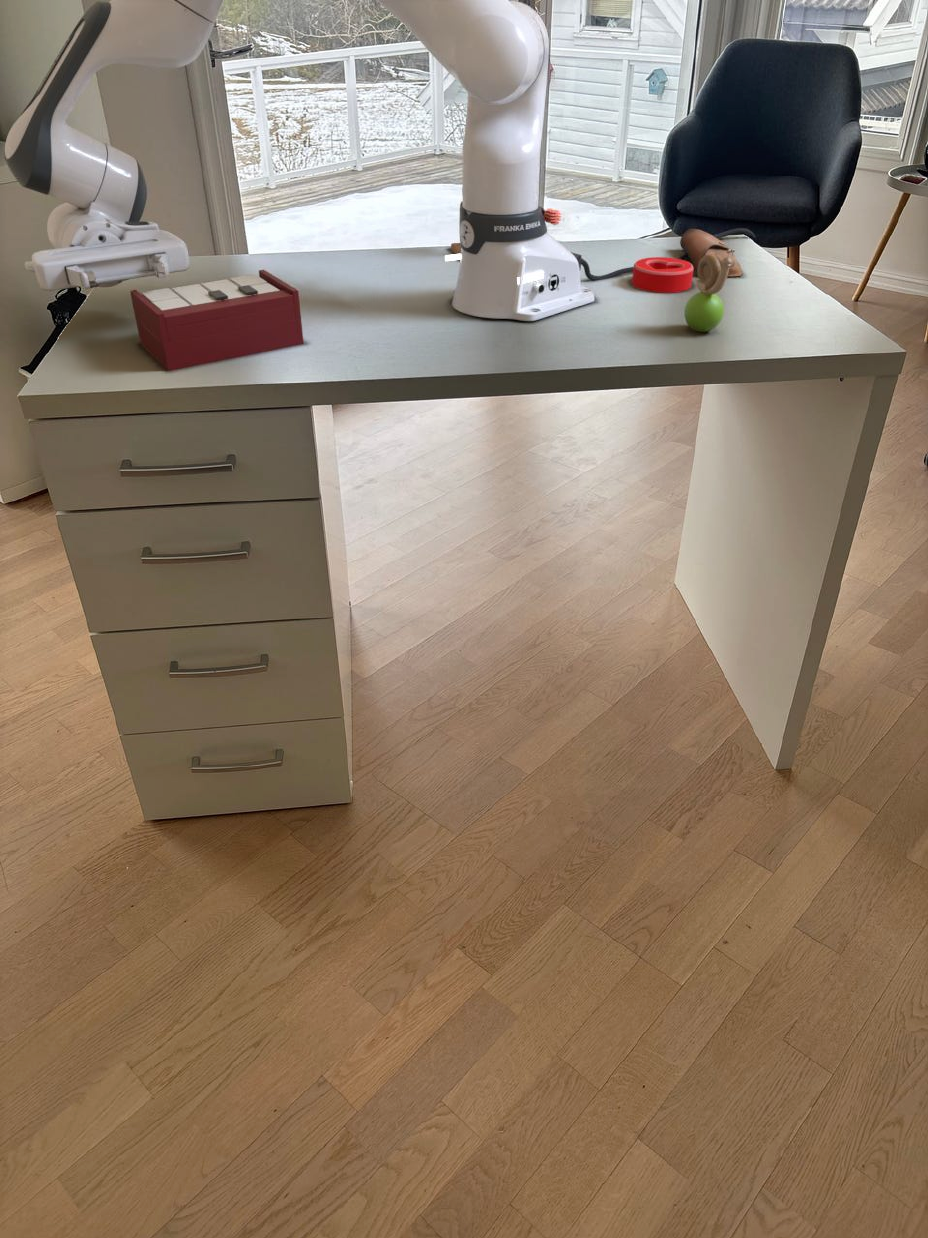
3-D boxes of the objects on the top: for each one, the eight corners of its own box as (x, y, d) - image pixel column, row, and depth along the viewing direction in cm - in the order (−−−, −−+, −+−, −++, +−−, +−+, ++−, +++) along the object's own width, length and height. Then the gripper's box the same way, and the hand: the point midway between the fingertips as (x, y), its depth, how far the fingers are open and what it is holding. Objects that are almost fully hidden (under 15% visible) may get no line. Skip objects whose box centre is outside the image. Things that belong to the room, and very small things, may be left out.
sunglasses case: (747, 274, 156) (732, 237, 152) (707, 295, 158) (692, 260, 154) (725, 246, 170) (711, 213, 167) (689, 266, 172) (674, 234, 169)
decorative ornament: (631, 291, 150) (633, 270, 148) (632, 274, 157) (634, 255, 156) (692, 294, 148) (694, 273, 146) (690, 277, 156) (693, 257, 154)
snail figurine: (702, 341, 130) (716, 251, 123) (674, 327, 135) (685, 241, 128) (733, 335, 132) (748, 247, 125) (703, 322, 137) (716, 236, 130)
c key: (256, 283, 134) (254, 273, 133) (268, 291, 131) (267, 281, 130) (231, 287, 132) (229, 277, 131) (242, 295, 129) (241, 285, 128)
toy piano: (270, 320, 138) (263, 269, 133) (303, 344, 129) (298, 290, 125) (141, 344, 129) (129, 290, 125) (168, 371, 121) (157, 314, 117)
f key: (170, 297, 128) (168, 287, 127) (180, 306, 125) (179, 295, 124) (142, 302, 127) (140, 292, 126) (153, 311, 124) (151, 300, 123)
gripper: (15, 238, 125) (38, 262, 115) (165, 219, 134) (198, 240, 124) (28, 286, 128) (51, 313, 119) (173, 265, 137) (205, 288, 128)
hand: (127, 276), depth 122 cm, fingers open, 8 cm apart
